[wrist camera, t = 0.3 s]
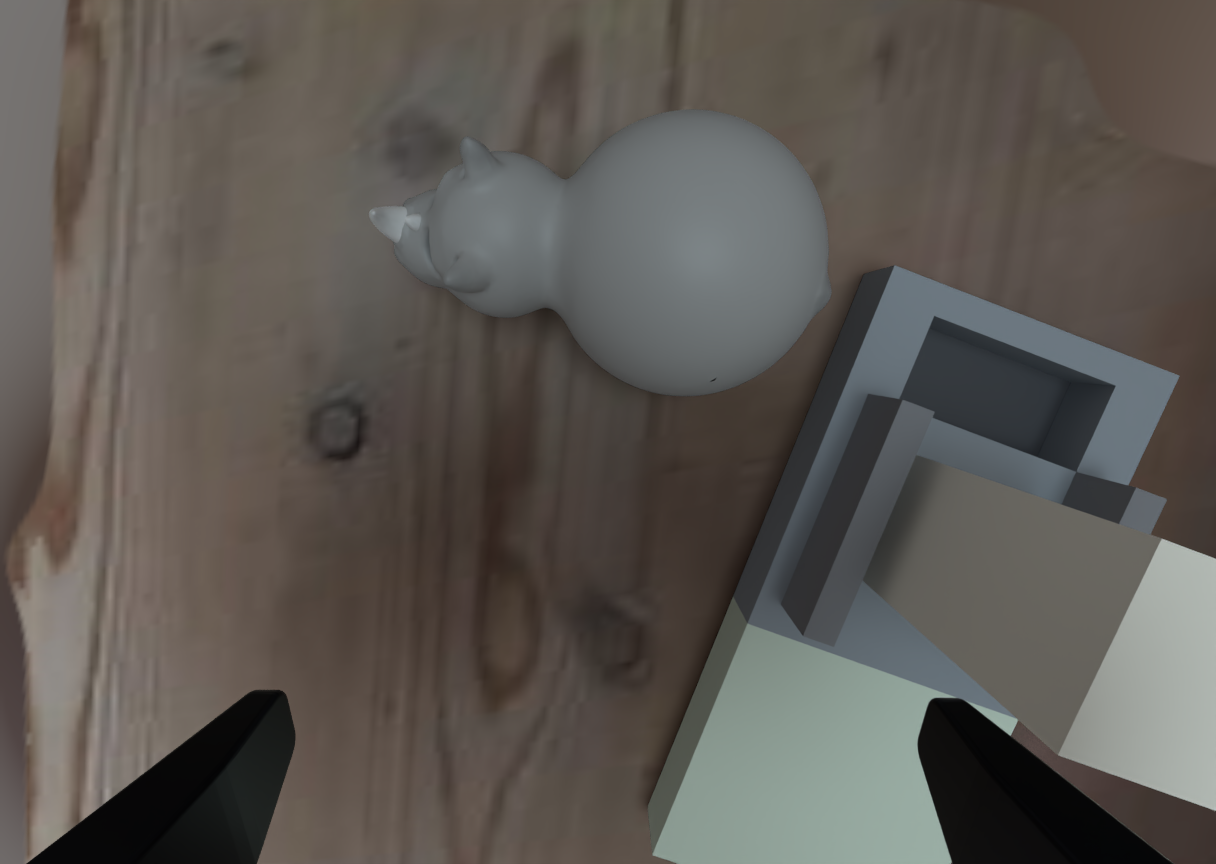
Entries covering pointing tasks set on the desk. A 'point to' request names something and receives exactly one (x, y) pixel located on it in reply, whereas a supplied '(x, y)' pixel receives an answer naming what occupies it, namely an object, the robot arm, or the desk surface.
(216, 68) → the desk surface
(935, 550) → the block
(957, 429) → the channel
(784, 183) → the grey rounded figurine
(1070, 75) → the desk surface
